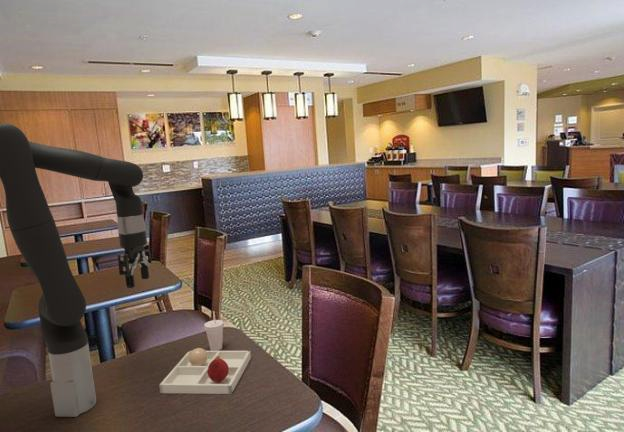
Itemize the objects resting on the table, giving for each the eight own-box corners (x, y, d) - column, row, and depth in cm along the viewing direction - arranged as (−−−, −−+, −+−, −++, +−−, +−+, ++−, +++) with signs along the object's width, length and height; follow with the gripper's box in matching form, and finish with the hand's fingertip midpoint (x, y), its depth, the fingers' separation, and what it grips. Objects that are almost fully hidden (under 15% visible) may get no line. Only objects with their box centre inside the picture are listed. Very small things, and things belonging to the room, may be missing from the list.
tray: (231, 396, 116) (230, 385, 115) (160, 395, 118) (159, 384, 118) (251, 360, 136) (250, 350, 135) (189, 360, 138) (188, 350, 138)
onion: (224, 388, 118) (221, 361, 117) (205, 387, 120) (202, 360, 118) (232, 377, 124) (230, 351, 123) (214, 376, 125) (211, 351, 124)
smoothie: (215, 356, 139) (211, 316, 137) (202, 352, 143) (198, 312, 141) (230, 349, 144) (226, 309, 142) (217, 344, 148) (213, 306, 146)
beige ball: (204, 370, 129) (202, 353, 128) (186, 370, 130) (185, 353, 129) (211, 361, 135) (209, 344, 134) (194, 361, 135) (192, 344, 135)
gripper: (132, 226, 135) (139, 276, 137) (106, 235, 121) (113, 290, 123) (155, 225, 134) (161, 275, 136) (131, 234, 120) (137, 290, 122)
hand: (138, 283), depth 129 cm, fingers open, 8 cm apart
